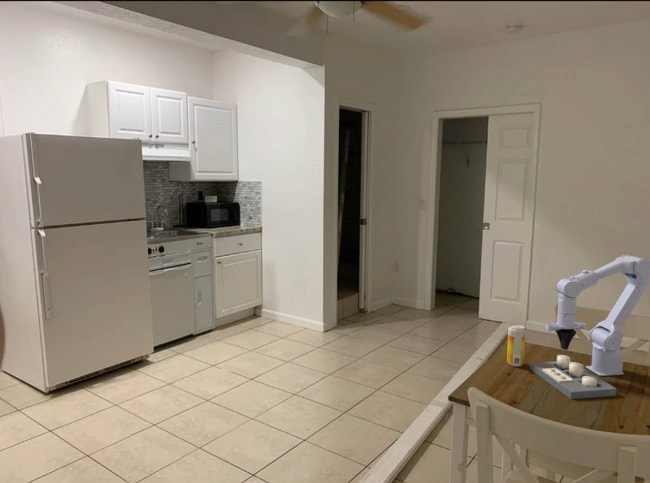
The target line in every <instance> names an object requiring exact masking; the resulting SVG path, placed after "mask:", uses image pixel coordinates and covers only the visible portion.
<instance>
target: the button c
mask: <svg viewBox="0 0 650 483" xmlns="http://www.w3.org/2000/svg"><path fill="white" fill-rule="evenodd" d="M582 384H583V385H585V386H586V387H597V379H596V378H594V377H591V376H583V377H582Z"/></svg>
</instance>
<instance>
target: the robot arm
mask: <svg viewBox="0 0 650 483" xmlns="http://www.w3.org/2000/svg"><path fill="white" fill-rule="evenodd" d="M619 273H622V274H623V276H624V277H625V279H626V281H627V284H626V286H625V287H624V290H623V291H622V293H621V294H620V296H619V297H618V299H617V301H616V303H615V304H614V305H613V307H612V309H611V310H610V312H609V313H608V316H607V317H606V318H605V320H604V319H603V320H602V321H599V322H598V323H597V324H596V326H594V327H593V328H591V330H590V331H589V334H588V337H589V340H590V341H591V342H592V343H591V345H592V355H591V365H586V366H585V368H586V369H588V370H589V371H591V372H593V373H595V374H596V375H598V376H600V377H604V376H619V375H625V374H624V371H623V365H624V355H623V351H622V349H621V346H622V341H623V338H624V336H625V335H624V332H623V329H622V328H623V326H624V325H625V323H626V322H627V320H628V318H629V317H630V315H631V314H632V312H633V311H634V310H635V308H636V306H637V303H639V301H640V299H641V297H642V296H643V294H644V293H645V291H646V290H647V288H648V285H649V281H650V259H647V258H642V257H637V256H634V255H631V254H623V255H621V256H619V257H616V258H615V260H613V261H612V262H609V263H607V264H605V265H604V266H600V267H599V268H597V269H595V270H594V271H592V270H587V269H583V270H582V271H581V272H580V273H579V274H576V275H574V276H573V275H571V276H570V277H569V278H561V279H560V280H559V281H558V282H557V284H556V285H555V286H554V288H555V291H556V292H557V297H558V301H557V302H558V303H557V314H556V315H557V316H556V317H557V318H556V319H557V320H556V322H552V323H547V324H545V327H544V328H545V331H547V332H552V331H555V333H556V335H557V337H558V341H559V343H560V348H561V349H562V350H564V351H565V350H569V347H570V343H571V342H572V340H573V338H574V337H575V336H576V334H577V331H576V330H580V329H581V330H586V329H587V323H584V322H577V321H576V309H577V297H579V296H580V294H581V292H583V291H585V290H587V289H589V288H592V287H594V286H596V285H598V283H599V281H600V280H602V279H605V278H608V277H610V276H613V275H616V274H619Z"/></svg>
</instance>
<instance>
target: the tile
mask: <svg viewBox="0 0 650 483" xmlns="http://www.w3.org/2000/svg"><path fill="white" fill-rule="evenodd" d="M542 371H544V372H545V373H546V374H548V375H549V376H551V377H552V378H554V379H555V380H556V381H558V382H559V383H560V382H573V379H571V378H570V377H568V376H567V375H565V374H564V373H562V372H561V371H559V370H558V369H556V368H547V369H542Z"/></svg>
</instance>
